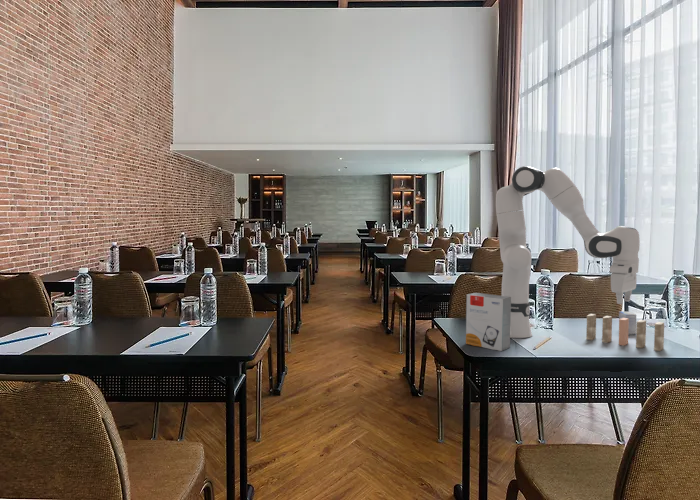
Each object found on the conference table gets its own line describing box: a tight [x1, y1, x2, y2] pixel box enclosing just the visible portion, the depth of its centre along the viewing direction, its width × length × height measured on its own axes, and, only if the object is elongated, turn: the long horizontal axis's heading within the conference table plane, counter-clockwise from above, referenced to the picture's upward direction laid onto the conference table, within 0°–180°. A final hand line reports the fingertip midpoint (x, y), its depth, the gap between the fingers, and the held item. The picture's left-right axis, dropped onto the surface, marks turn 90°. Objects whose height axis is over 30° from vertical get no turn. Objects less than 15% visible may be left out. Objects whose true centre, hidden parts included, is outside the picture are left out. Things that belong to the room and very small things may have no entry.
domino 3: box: [618, 318, 629, 346], centre depth 186 cm, size 2×5×10 cm, turn 135°
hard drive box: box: [465, 292, 511, 352], centre depth 183 cm, size 16×8×20 cm, turn 46°
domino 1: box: [585, 313, 597, 341], centre depth 194 cm, size 2×5×10 cm, turn 135°
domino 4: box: [635, 319, 647, 349], centre depth 182 cm, size 2×5×10 cm, turn 135°
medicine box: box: [618, 310, 637, 335], centre depth 206 cm, size 8×4×9 cm, turn 168°
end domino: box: [653, 321, 665, 352], centre depth 177 cm, size 2×5×10 cm, turn 135°
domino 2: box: [601, 315, 613, 343], centre depth 190 cm, size 2×5×10 cm, turn 135°
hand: (623, 302), depth 185 cm, fingers open, 8 cm apart
